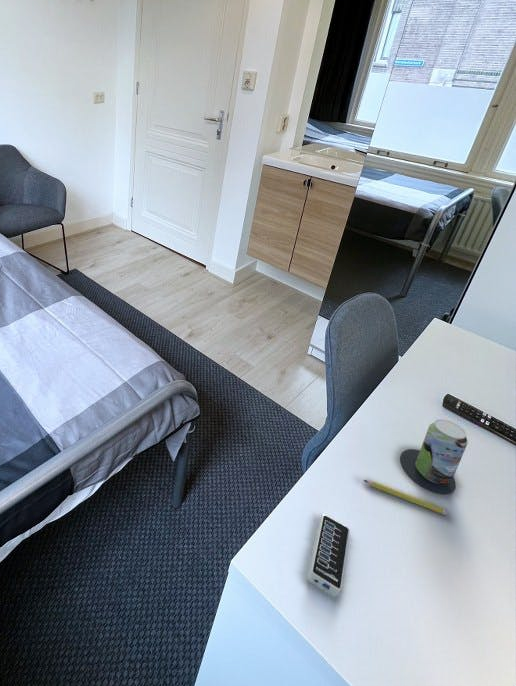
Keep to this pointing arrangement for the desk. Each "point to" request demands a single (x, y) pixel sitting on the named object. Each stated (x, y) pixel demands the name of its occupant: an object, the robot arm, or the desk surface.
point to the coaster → (409, 467)
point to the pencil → (407, 497)
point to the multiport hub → (329, 555)
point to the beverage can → (441, 451)
